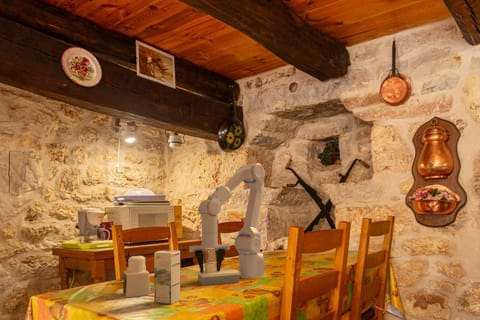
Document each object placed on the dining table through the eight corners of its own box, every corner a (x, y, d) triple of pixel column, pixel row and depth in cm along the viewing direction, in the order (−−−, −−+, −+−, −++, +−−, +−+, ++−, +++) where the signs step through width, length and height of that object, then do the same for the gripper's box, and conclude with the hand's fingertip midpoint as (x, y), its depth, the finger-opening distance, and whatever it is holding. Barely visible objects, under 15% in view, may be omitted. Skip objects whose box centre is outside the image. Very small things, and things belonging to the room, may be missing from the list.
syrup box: (181, 300, 113) (180, 249, 114) (171, 305, 107) (171, 252, 109) (163, 299, 114) (164, 249, 116) (153, 303, 109) (153, 251, 111)
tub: (231, 279, 143) (231, 270, 144) (239, 283, 135) (239, 274, 135) (197, 282, 139) (197, 273, 140) (203, 286, 131) (203, 277, 131)
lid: (232, 270, 144) (232, 260, 145) (240, 274, 135) (240, 263, 136) (196, 273, 140) (196, 262, 140) (202, 277, 131) (202, 266, 131)
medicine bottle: (122, 293, 123) (123, 255, 125) (145, 291, 126) (145, 253, 127) (125, 298, 117) (126, 257, 118) (149, 295, 120) (149, 256, 121)
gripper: (225, 231, 144) (226, 268, 143) (187, 233, 140) (187, 271, 138) (231, 232, 138) (231, 271, 136) (191, 234, 133) (191, 274, 132)
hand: (210, 271), depth 137 cm, fingers open, 5 cm apart
